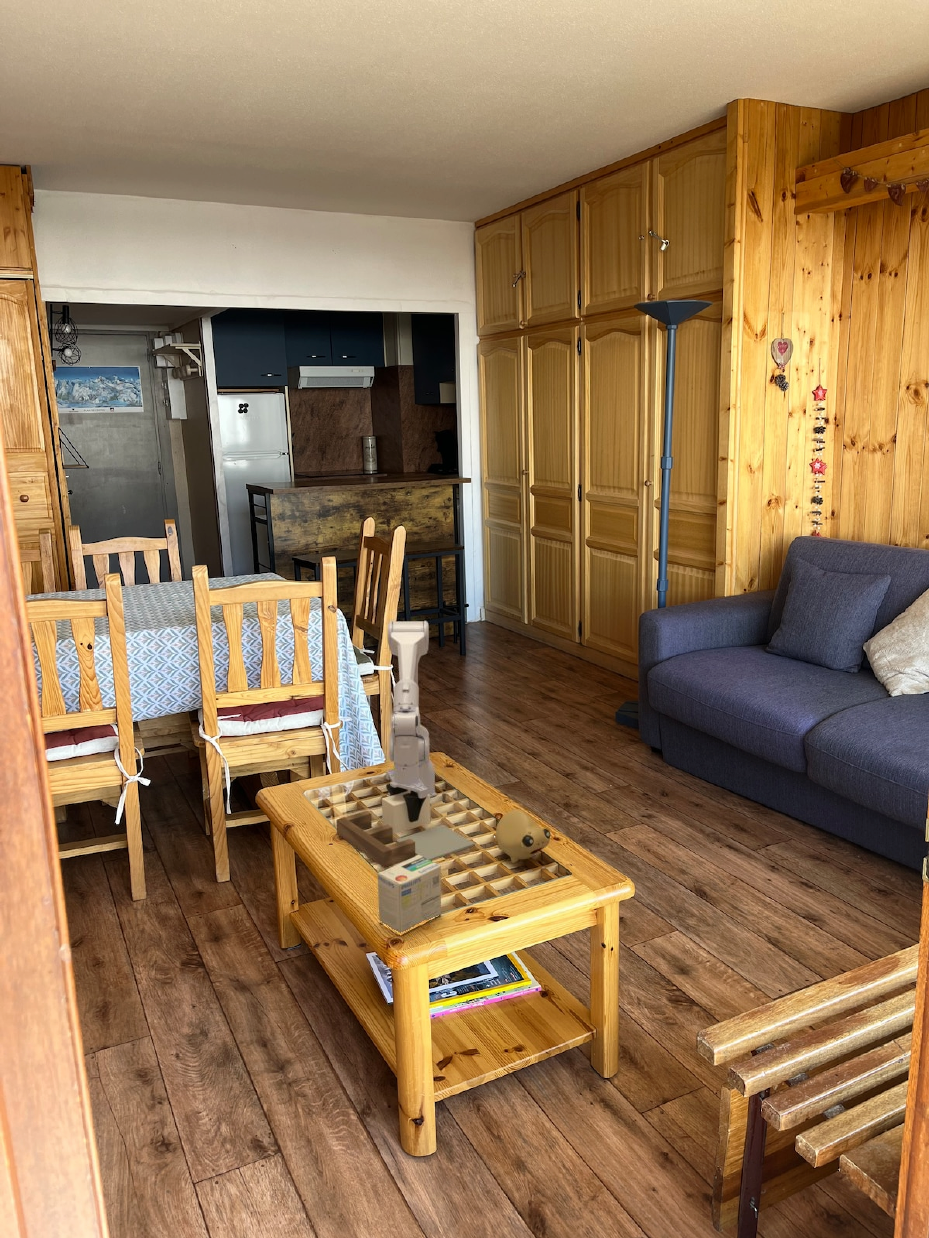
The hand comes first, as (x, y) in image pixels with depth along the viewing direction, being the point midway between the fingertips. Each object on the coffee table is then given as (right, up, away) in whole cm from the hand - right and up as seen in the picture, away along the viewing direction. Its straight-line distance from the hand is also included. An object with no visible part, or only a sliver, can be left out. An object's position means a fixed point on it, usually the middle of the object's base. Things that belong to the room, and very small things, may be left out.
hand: (407, 816), depth 221 cm
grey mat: (+7, -4, -9) cm, 12 cm away
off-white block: (0, -2, 0) cm, 2 cm away
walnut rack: (-7, -4, -10) cm, 12 cm away
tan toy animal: (+26, -6, -16) cm, 31 cm away
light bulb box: (+3, -12, -40) cm, 42 cm away
